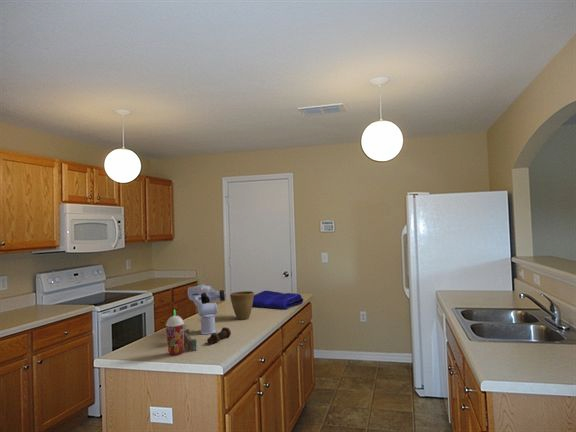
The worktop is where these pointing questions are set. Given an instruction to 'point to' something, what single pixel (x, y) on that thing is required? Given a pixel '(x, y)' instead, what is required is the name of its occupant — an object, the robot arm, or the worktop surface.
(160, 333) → the worktop surface
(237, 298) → the plant pot
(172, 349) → the smoothie
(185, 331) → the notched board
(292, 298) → the towel
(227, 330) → the bolt
